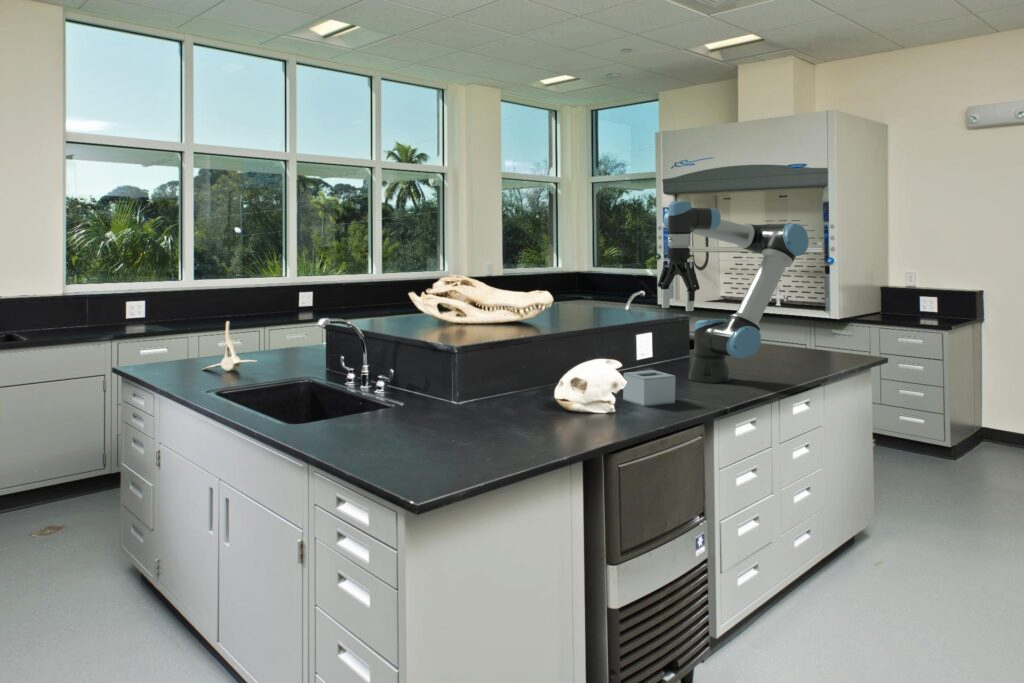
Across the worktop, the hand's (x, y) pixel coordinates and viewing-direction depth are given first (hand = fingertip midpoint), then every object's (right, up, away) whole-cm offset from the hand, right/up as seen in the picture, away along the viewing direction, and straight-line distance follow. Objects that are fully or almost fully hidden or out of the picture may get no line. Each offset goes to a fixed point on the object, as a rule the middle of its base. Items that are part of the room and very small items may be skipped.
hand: (677, 309), depth 260 cm
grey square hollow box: (-12, -31, -13) cm, 35 cm away
